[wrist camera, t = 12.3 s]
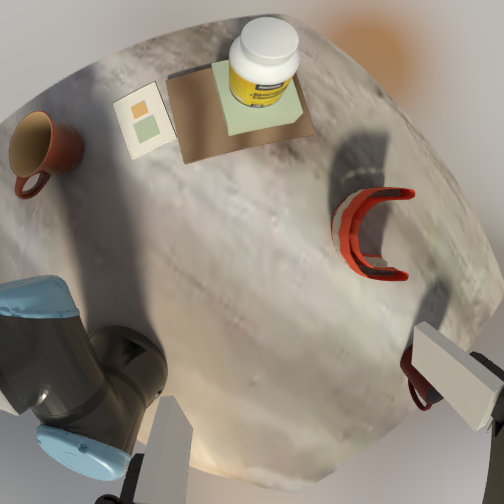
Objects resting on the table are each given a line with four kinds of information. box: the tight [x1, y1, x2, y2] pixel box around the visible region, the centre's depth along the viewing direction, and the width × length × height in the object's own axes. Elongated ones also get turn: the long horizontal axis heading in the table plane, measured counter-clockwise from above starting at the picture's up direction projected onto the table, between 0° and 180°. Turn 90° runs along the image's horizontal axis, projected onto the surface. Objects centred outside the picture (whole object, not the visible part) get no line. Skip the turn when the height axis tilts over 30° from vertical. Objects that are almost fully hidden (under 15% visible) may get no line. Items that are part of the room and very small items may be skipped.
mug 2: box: [400, 345, 444, 411], centre depth 40 cm, size 12×9×11 cm
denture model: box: [332, 187, 415, 281], centre depth 35 cm, size 12×10×8 cm
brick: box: [211, 60, 303, 136], centre depth 30 cm, size 9×9×5 cm
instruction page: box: [113, 82, 177, 160], centre depth 33 cm, size 7×10×1 cm
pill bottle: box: [229, 17, 300, 108], centre depth 22 cm, size 6×6×12 cm
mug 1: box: [9, 111, 84, 200], centre depth 28 cm, size 12×9×10 cm
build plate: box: [166, 68, 315, 164], centre depth 33 cm, size 18×13×1 cm
